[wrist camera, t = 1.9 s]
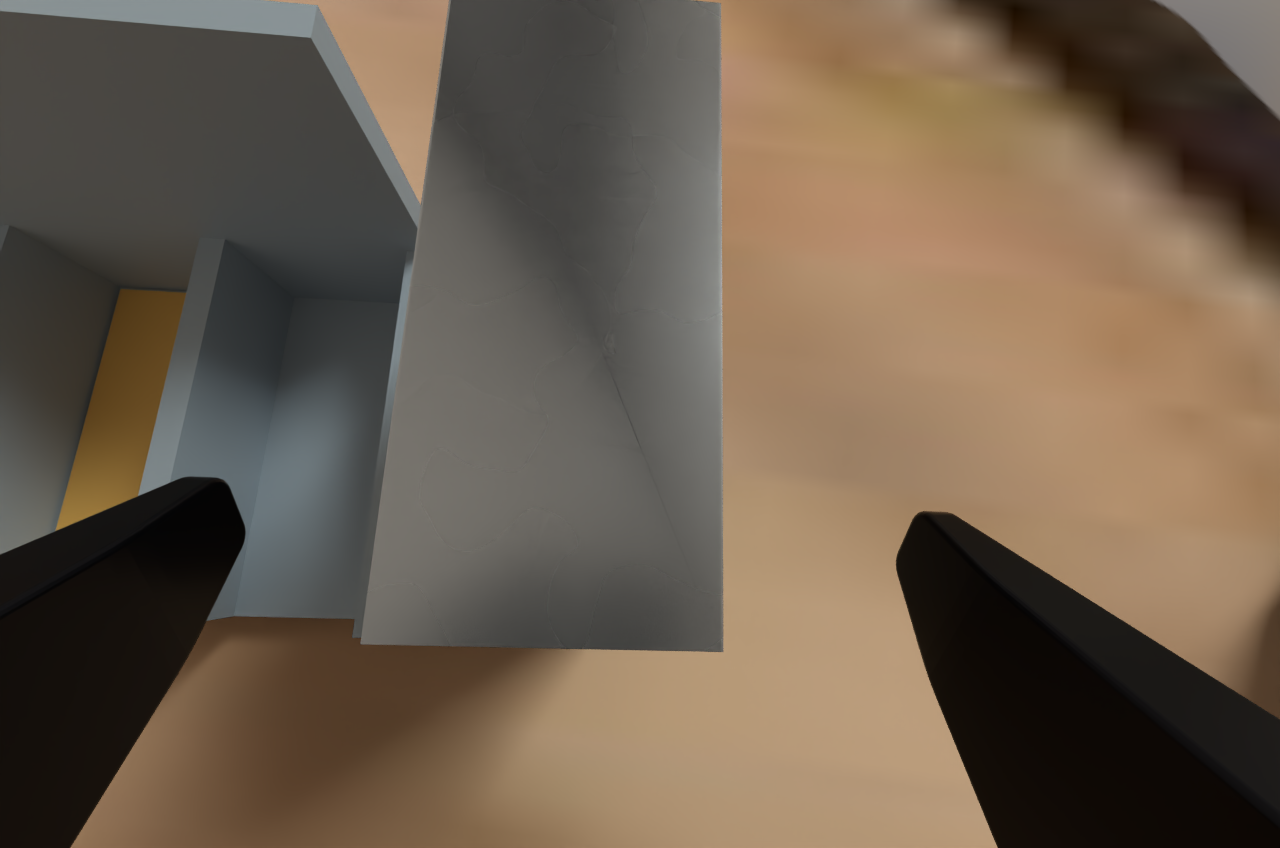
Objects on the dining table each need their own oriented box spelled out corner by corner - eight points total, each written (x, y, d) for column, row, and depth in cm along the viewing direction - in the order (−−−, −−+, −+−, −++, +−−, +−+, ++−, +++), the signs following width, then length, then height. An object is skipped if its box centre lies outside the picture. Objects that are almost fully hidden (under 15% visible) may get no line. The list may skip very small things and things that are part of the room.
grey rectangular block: (635, 581, 16) (723, 652, 5) (531, 579, 16) (359, 645, 5) (642, 358, 18) (720, 2, 6) (548, 353, 18) (452, -23, 6)
